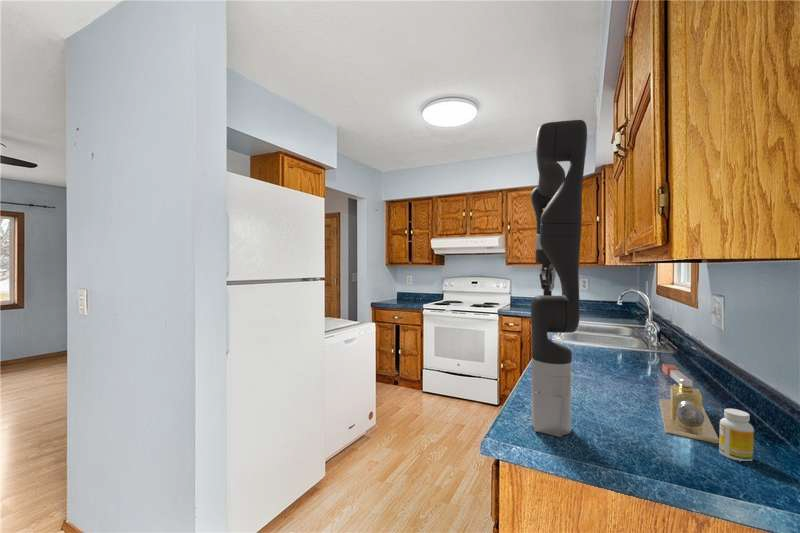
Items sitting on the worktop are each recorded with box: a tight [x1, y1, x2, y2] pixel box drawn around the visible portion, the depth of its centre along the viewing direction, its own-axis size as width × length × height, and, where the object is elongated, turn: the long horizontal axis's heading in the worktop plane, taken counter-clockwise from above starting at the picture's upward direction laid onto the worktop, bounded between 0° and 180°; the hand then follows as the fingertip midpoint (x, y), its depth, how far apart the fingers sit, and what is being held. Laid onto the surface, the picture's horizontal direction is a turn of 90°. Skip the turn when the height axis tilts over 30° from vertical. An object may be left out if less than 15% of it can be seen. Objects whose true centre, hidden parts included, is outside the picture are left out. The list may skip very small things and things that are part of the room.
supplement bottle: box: [718, 408, 755, 462], centre depth 78 cm, size 5×5×10 cm
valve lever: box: [661, 363, 694, 388], centre depth 102 cm, size 16×3×2 cm, turn 158°
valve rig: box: [659, 382, 719, 444], centre depth 96 cm, size 24×10×9 cm, turn 147°
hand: (547, 302), depth 115 cm, fingers closed
